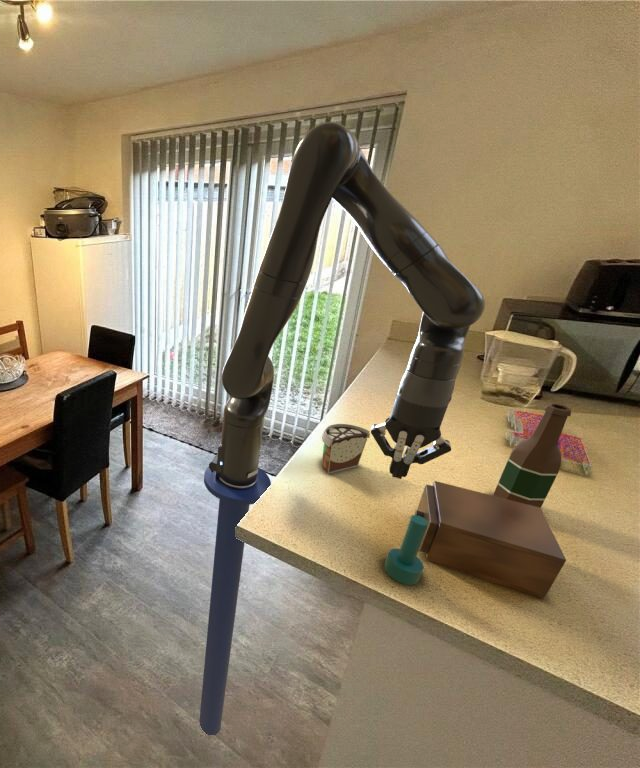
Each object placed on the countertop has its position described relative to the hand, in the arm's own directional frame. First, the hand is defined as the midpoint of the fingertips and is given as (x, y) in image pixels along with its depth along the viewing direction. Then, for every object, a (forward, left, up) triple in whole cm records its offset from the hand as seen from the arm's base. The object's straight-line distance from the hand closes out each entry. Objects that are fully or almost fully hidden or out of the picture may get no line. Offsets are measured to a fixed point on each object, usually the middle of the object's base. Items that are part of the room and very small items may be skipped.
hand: (396, 475), depth 76 cm
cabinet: (+15, 0, -12) cm, 19 cm away
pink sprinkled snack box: (+36, +56, -12) cm, 68 cm away
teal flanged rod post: (+3, -13, -12) cm, 18 cm away
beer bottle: (+24, +20, -12) cm, 33 cm away
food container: (-11, +18, -12) cm, 24 cm away
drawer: (+13, 0, -11) cm, 17 cm away
